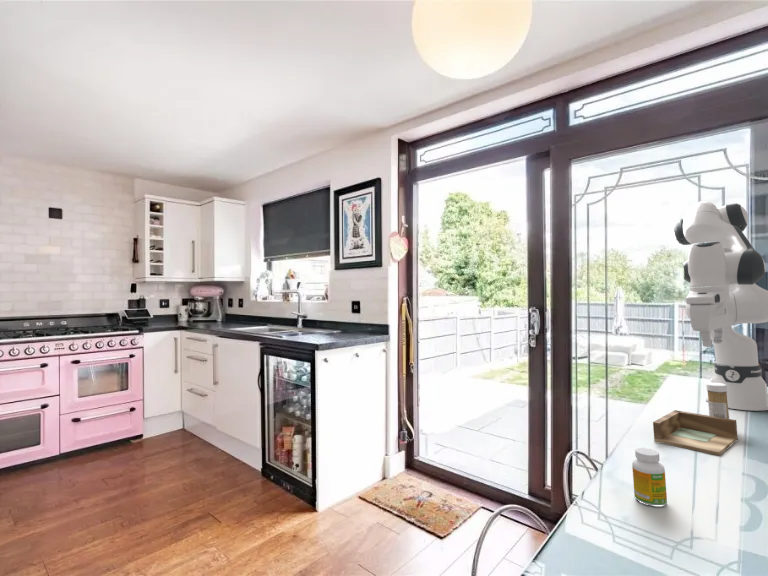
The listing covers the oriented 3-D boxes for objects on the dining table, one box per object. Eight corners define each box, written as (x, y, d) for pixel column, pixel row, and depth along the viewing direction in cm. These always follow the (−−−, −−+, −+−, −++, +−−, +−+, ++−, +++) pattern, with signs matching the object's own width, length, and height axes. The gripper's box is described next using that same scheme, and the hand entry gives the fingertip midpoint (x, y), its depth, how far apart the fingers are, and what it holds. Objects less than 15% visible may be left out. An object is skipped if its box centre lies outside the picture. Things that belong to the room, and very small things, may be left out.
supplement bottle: (655, 510, 75) (651, 458, 75) (628, 498, 80) (624, 449, 80) (673, 503, 77) (669, 453, 78) (645, 492, 82) (642, 444, 82)
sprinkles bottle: (733, 431, 113) (729, 383, 114) (727, 434, 111) (723, 386, 111) (713, 427, 117) (709, 381, 117) (707, 430, 115) (703, 383, 115)
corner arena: (676, 427, 118) (675, 410, 118) (737, 439, 107) (736, 420, 107) (654, 441, 109) (652, 422, 109) (719, 455, 98) (717, 434, 98)
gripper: (707, 296, 124) (711, 340, 123) (683, 298, 112) (687, 347, 111) (734, 295, 119) (737, 341, 118) (711, 297, 107) (715, 349, 106)
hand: (713, 344), depth 115 cm, fingers open, 8 cm apart
